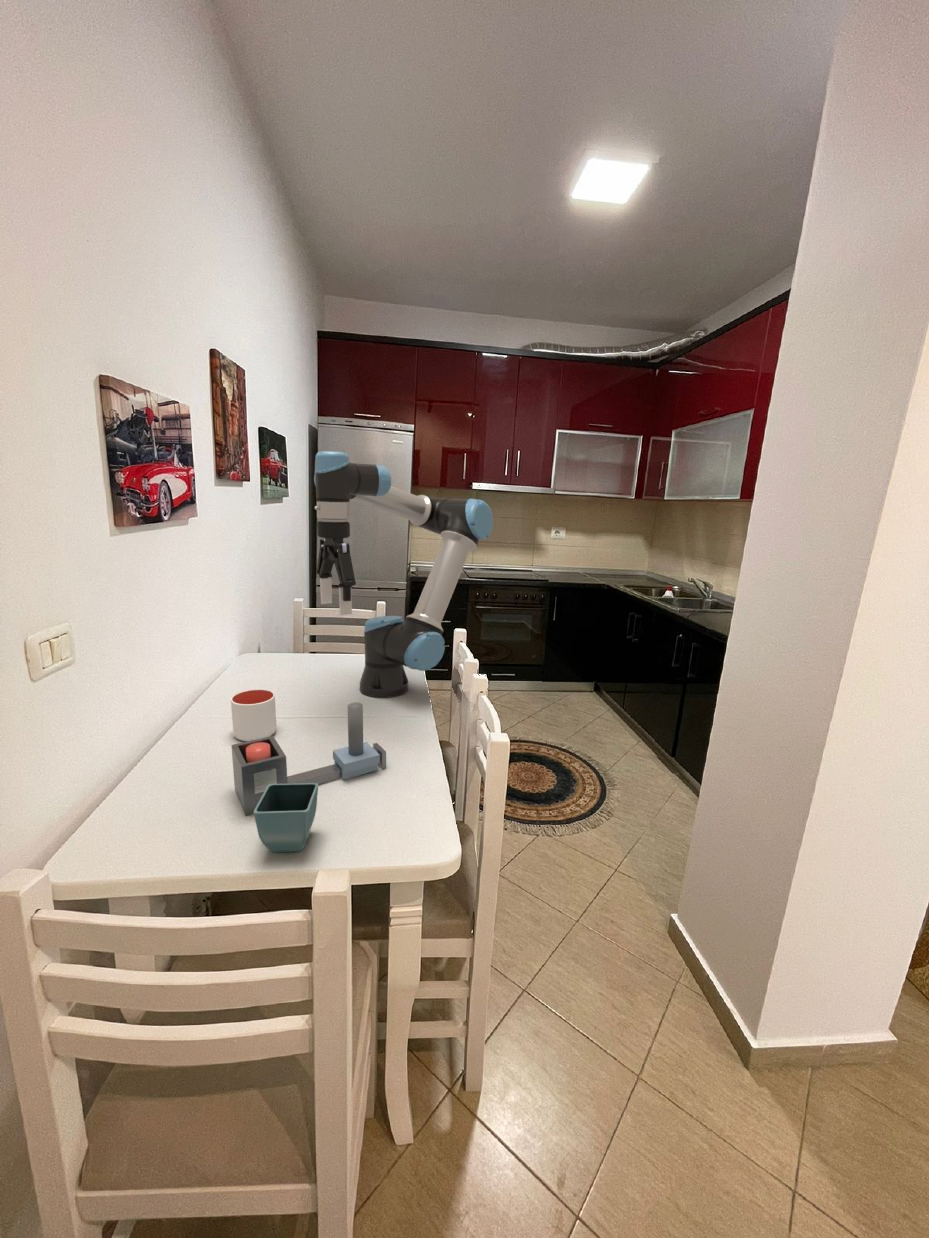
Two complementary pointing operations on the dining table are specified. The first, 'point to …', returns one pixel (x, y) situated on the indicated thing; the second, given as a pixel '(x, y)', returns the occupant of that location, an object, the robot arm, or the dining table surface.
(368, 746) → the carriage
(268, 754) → the button
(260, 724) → the cup
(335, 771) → the rail
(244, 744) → the open box
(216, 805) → the dining table surface
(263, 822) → the flower pot
